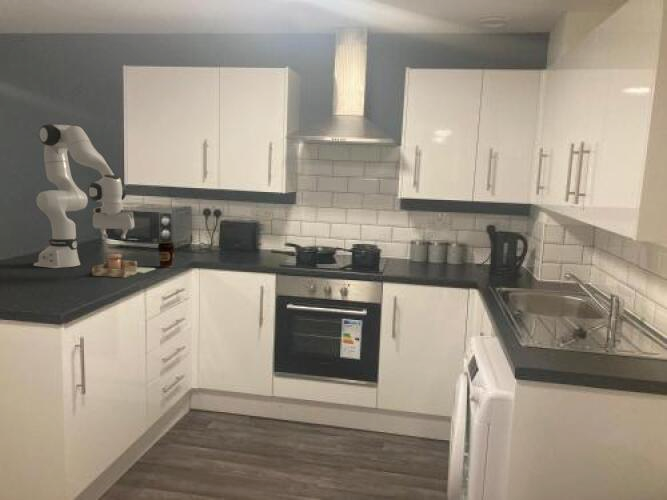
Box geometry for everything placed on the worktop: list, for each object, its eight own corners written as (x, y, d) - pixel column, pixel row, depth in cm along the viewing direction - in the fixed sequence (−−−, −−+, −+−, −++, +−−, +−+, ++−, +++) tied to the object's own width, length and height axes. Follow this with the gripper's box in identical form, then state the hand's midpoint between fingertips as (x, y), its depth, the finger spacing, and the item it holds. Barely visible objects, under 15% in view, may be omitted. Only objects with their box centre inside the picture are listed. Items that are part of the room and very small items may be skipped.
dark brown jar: (169, 268, 298) (169, 243, 296) (154, 267, 299) (154, 243, 297) (177, 266, 306) (177, 241, 304) (163, 265, 308) (162, 241, 306)
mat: (121, 271, 286) (121, 270, 286) (133, 267, 298) (133, 266, 298) (143, 273, 284) (143, 272, 284) (155, 269, 295) (155, 268, 295)
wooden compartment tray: (92, 275, 275) (91, 262, 274) (105, 271, 286) (105, 259, 285) (124, 277, 272) (124, 264, 271) (137, 273, 283) (136, 261, 282)
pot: (105, 275, 276) (104, 255, 275) (112, 272, 283) (112, 253, 281) (117, 275, 275) (116, 256, 274) (124, 273, 281) (124, 254, 280)
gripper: (136, 209, 276) (137, 238, 277) (98, 208, 280) (99, 236, 281) (129, 210, 269) (130, 239, 271) (90, 209, 273) (91, 238, 275)
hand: (114, 238), depth 276 cm, fingers open, 8 cm apart
